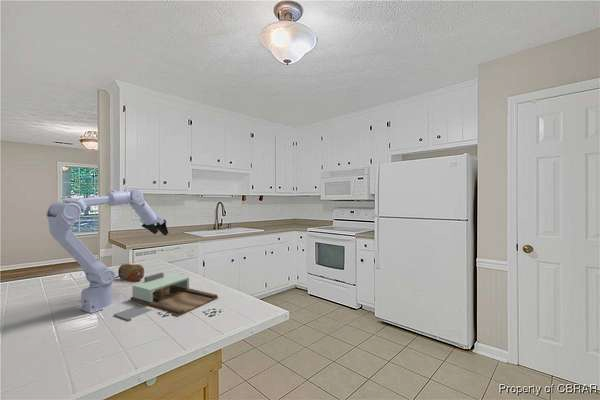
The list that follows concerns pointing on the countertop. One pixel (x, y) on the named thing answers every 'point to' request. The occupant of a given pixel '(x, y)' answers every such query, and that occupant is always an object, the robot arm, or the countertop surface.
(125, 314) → the mat
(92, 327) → the countertop surface
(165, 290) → the block
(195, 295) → the puzzle board
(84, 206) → the robot arm
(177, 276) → the cover
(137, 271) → the tin
